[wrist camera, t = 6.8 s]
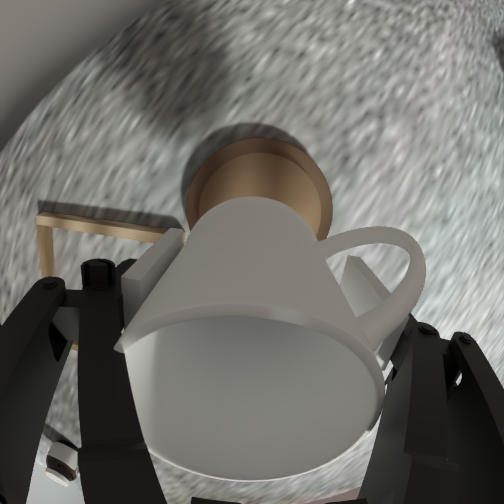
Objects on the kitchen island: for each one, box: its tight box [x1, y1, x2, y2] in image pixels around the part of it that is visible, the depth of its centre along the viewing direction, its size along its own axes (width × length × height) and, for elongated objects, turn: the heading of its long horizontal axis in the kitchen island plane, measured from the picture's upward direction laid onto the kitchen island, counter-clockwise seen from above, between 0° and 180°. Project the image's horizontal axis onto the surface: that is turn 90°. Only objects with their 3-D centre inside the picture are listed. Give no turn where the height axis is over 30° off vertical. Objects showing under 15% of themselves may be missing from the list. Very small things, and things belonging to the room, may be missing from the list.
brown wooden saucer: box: [187, 138, 333, 241], centre depth 30 cm, size 15×15×3 cm
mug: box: [114, 196, 426, 482], centre depth 12 cm, size 12×8×12 cm
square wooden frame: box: [36, 212, 185, 351], centre depth 35 cm, size 20×20×2 cm
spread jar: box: [45, 440, 80, 486], centre depth 47 cm, size 12×11×12 cm
